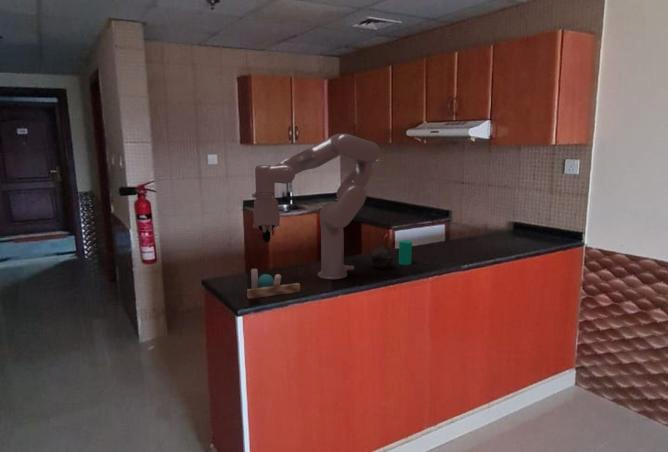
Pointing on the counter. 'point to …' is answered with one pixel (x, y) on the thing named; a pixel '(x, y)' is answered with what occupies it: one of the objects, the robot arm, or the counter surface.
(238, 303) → the counter surface
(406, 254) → the candle
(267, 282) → the ball
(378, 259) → the decorative stone
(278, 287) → the oak rail
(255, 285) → the grey pin
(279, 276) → the cream pin
